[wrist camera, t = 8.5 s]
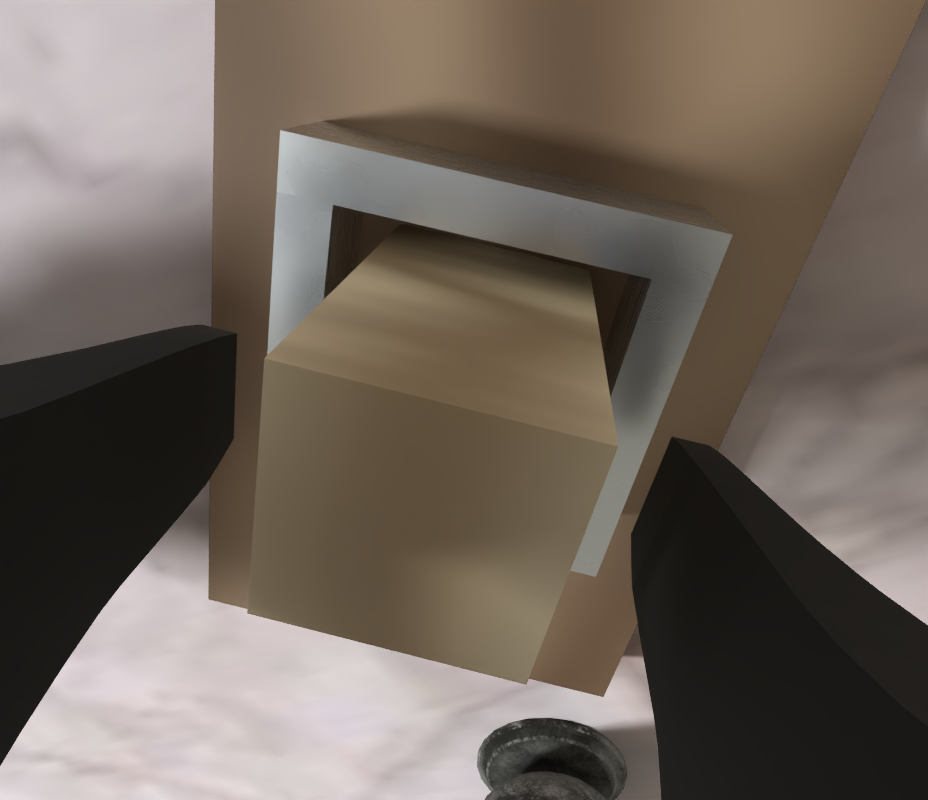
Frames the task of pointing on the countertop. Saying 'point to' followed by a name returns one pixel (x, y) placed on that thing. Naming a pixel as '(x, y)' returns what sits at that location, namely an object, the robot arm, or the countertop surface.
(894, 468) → the countertop surface
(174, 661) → the countertop surface
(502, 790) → the salt shaker
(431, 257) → the maple peg
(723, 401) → the board
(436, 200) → the square socket
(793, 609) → the robot arm
